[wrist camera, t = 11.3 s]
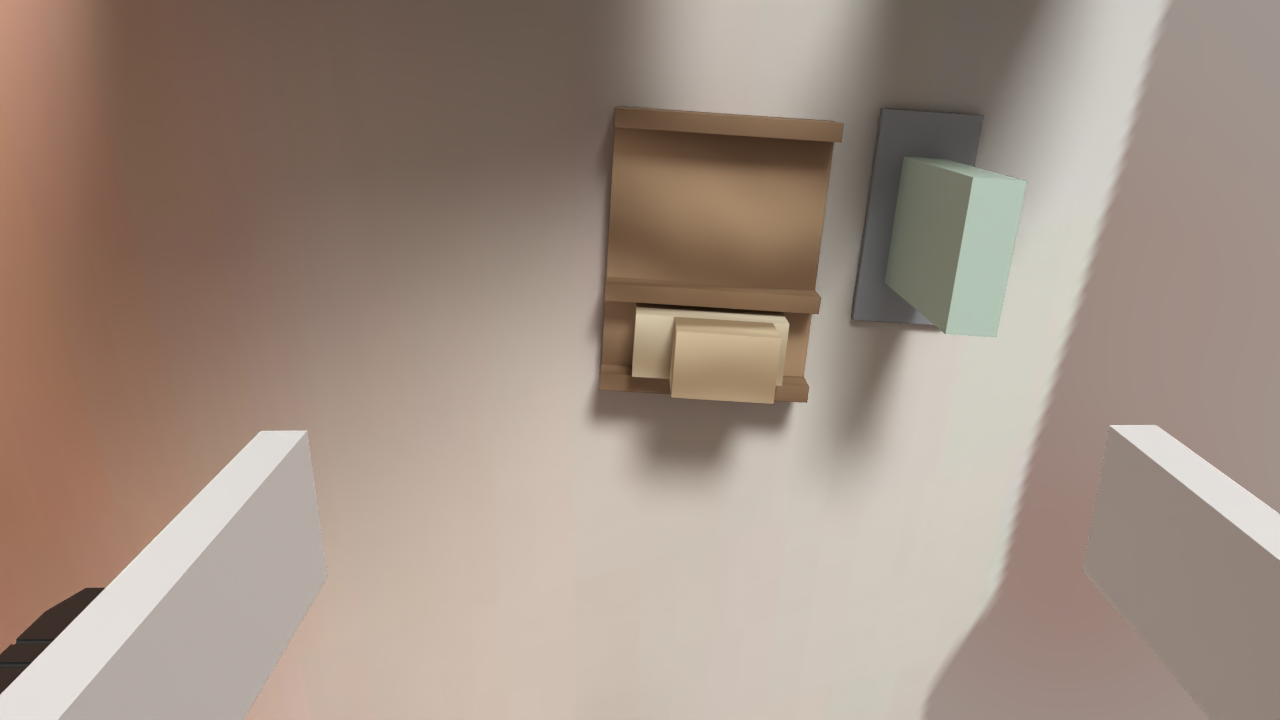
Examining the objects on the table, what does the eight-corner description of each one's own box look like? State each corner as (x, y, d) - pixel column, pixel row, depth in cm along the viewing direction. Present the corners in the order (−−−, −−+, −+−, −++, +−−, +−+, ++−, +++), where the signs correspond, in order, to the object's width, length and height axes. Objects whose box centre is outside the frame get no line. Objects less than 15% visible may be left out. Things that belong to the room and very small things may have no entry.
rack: (616, 106, 41) (614, 107, 38) (831, 120, 41) (843, 123, 39) (601, 373, 45) (599, 389, 42) (798, 385, 45) (807, 402, 43)
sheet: (903, 156, 41) (973, 177, 33) (946, 159, 41) (1027, 181, 33) (884, 282, 43) (945, 333, 34) (925, 285, 43) (996, 337, 34)
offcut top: (674, 316, 40) (676, 331, 38) (773, 322, 40) (781, 338, 38) (669, 378, 41) (671, 397, 39) (765, 384, 41) (773, 403, 39)
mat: (881, 108, 41) (883, 108, 41) (980, 115, 41) (983, 115, 41) (851, 317, 44) (853, 319, 44) (943, 323, 44) (945, 325, 44)
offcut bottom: (636, 300, 43) (636, 314, 40) (781, 310, 43) (789, 324, 40) (632, 360, 44) (631, 376, 41) (774, 369, 44) (781, 385, 41)
